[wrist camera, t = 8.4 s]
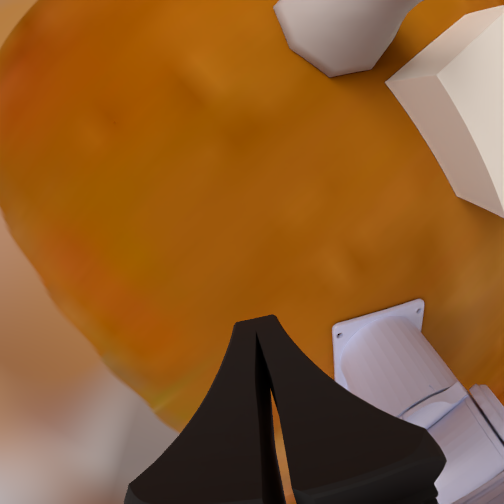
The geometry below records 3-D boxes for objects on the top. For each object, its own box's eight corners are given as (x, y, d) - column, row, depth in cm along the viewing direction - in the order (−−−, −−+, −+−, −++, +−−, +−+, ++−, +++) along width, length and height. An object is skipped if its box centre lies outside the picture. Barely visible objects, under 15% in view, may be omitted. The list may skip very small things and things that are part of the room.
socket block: (522, 121, 17) (569, 130, 12) (458, 199, 20) (507, 223, 15) (465, 14, 14) (514, 3, 9) (384, 82, 16) (436, 75, 11)
